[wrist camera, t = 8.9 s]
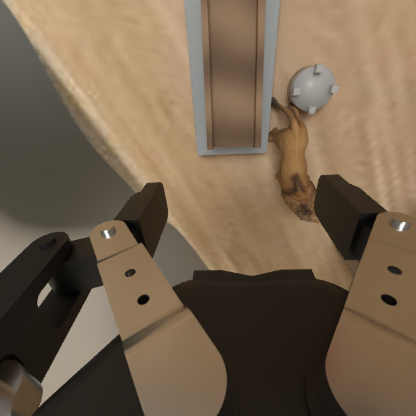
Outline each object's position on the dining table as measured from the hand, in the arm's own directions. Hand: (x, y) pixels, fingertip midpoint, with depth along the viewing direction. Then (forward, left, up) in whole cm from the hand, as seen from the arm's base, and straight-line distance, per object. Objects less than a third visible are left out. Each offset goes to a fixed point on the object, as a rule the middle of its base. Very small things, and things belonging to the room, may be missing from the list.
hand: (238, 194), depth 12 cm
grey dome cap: (+3, -9, -20) cm, 23 cm away
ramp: (+5, 0, -18) cm, 19 cm away
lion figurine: (-5, -8, -21) cm, 23 cm away
